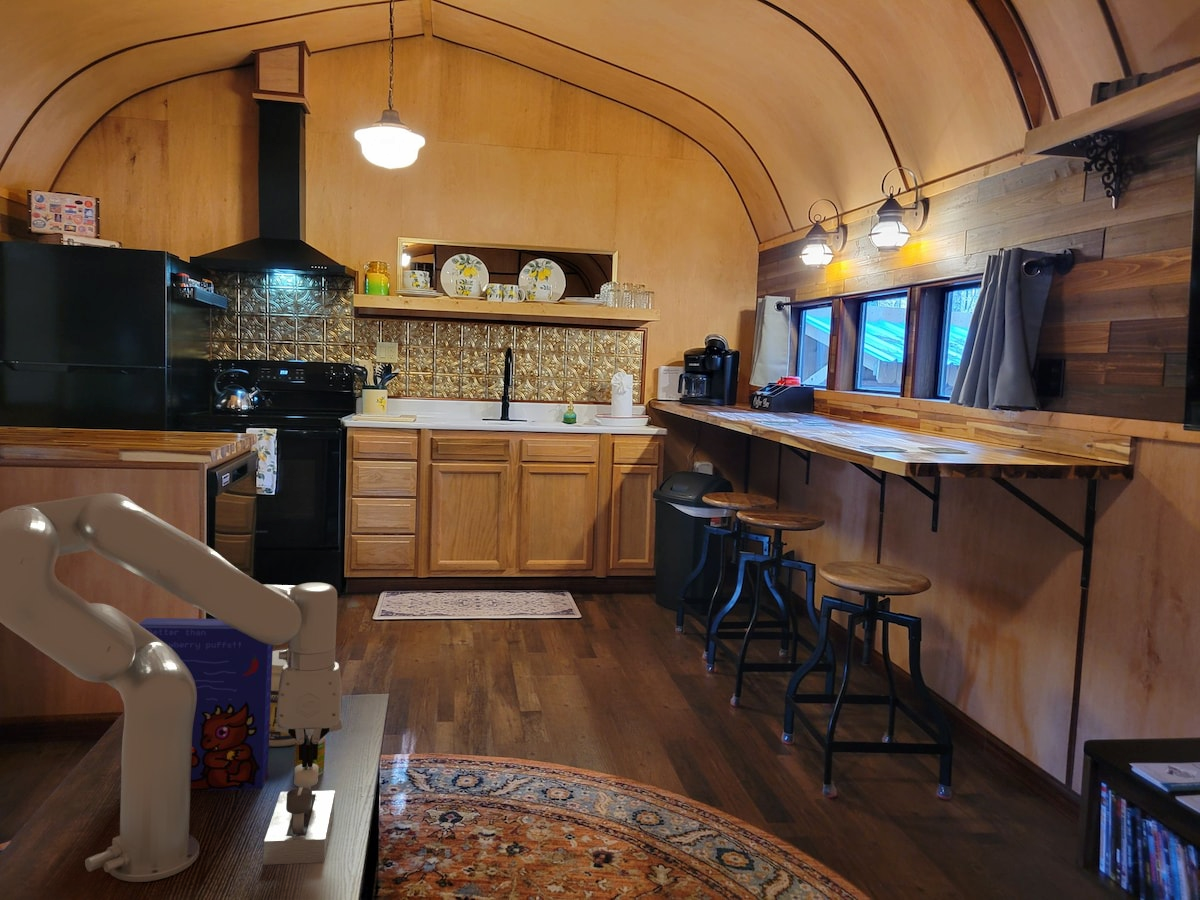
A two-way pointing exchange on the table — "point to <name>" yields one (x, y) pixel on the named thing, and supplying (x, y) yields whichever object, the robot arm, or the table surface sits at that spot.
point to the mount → (299, 848)
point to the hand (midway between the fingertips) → (308, 763)
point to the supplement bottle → (320, 753)
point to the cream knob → (306, 776)
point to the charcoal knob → (298, 806)
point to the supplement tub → (276, 736)
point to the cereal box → (224, 700)
